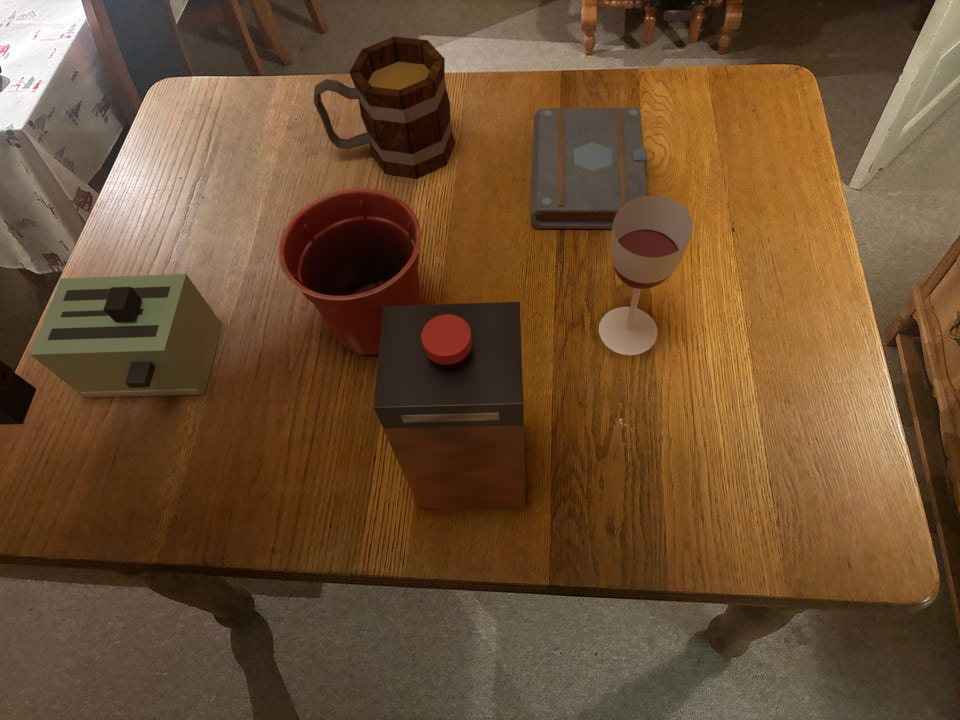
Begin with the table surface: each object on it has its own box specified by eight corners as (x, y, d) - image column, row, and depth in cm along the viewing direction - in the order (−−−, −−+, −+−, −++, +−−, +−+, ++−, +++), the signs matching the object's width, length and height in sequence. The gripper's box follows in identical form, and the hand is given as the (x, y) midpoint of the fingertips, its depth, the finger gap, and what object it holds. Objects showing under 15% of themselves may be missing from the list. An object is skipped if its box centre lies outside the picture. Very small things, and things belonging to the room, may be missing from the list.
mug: (450, 114, 109) (439, 29, 96) (460, 172, 102) (450, 89, 89) (332, 131, 109) (306, 48, 96) (334, 190, 102) (305, 110, 89)
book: (533, 130, 106) (533, 104, 101) (638, 129, 104) (643, 102, 100) (530, 230, 95) (530, 205, 91) (647, 230, 94) (652, 206, 90)
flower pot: (306, 371, 85) (264, 299, 72) (327, 270, 94) (292, 188, 80) (432, 372, 84) (413, 299, 70) (442, 270, 92) (427, 186, 79)
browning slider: (115, 322, 77) (102, 309, 75) (122, 300, 79) (110, 287, 77) (135, 321, 77) (123, 308, 75) (142, 299, 79) (130, 286, 77)
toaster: (77, 417, 84) (20, 375, 75) (109, 327, 91) (60, 278, 82) (200, 414, 83) (157, 371, 74) (222, 323, 90) (186, 273, 81)
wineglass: (584, 340, 85) (597, 237, 68) (617, 294, 89) (638, 184, 71) (639, 369, 83) (668, 269, 65) (671, 320, 86) (706, 213, 69)
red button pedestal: (419, 510, 75) (373, 409, 53) (423, 429, 80) (383, 305, 58) (524, 508, 74) (523, 405, 52) (522, 426, 80) (519, 301, 57)
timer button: (422, 365, 53) (420, 356, 52) (424, 324, 55) (422, 314, 54) (472, 364, 53) (470, 355, 52) (472, 322, 55) (471, 313, 54)
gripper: (-182, 56, 26) (126, 356, 47) (-480, 73, 27) (-49, 361, 47) (-294, 193, 23) (94, 455, 43) (-637, 209, 23) (-96, 459, 44)
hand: (19, 406), depth 45 cm, fingers closed
